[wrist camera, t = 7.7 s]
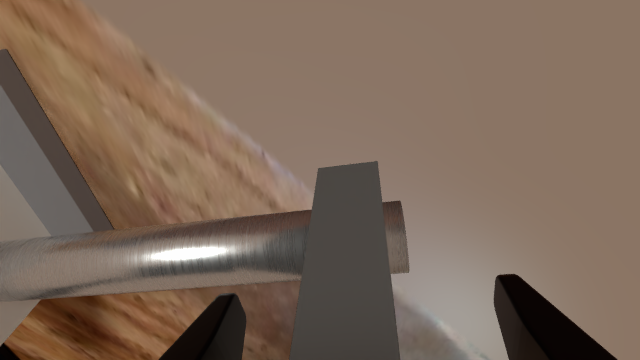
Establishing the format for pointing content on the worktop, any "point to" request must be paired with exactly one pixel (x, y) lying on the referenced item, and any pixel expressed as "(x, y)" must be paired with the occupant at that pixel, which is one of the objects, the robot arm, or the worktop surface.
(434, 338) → the worktop surface
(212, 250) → the shaft
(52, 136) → the bracket
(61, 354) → the worktop surface
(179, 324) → the worktop surface
